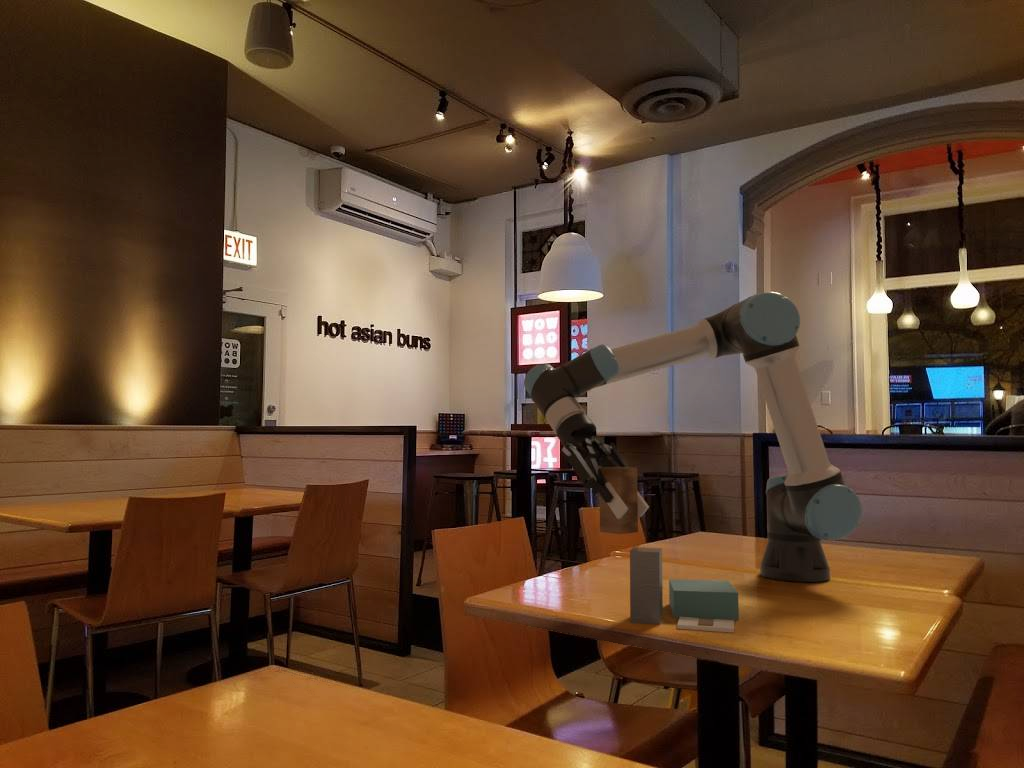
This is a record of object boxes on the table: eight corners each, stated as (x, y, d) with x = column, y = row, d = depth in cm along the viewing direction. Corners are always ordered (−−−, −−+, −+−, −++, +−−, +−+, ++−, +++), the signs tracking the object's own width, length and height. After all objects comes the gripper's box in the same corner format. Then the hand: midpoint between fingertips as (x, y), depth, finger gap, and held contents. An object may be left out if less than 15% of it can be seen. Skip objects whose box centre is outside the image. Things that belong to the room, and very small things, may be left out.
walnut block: (618, 529, 144) (617, 466, 145) (638, 532, 140) (637, 467, 141) (600, 531, 141) (599, 467, 142) (619, 534, 137) (618, 468, 138)
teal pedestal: (728, 607, 141) (728, 580, 142) (738, 622, 130) (738, 592, 131) (669, 605, 143) (669, 579, 143) (674, 619, 132) (673, 590, 132)
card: (734, 624, 127) (733, 619, 127) (734, 632, 122) (734, 627, 122) (679, 620, 130) (679, 615, 130) (677, 628, 124) (677, 623, 124)
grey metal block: (662, 617, 132) (662, 548, 133) (660, 624, 127) (659, 552, 128) (634, 615, 133) (633, 547, 134) (630, 622, 128) (629, 551, 129)
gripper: (594, 438, 160) (655, 522, 146) (529, 438, 148) (588, 530, 134) (612, 412, 156) (676, 496, 142) (546, 410, 145) (609, 502, 131)
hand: (633, 512), depth 138 cm, fingers closed on walnut block, 5 cm apart
